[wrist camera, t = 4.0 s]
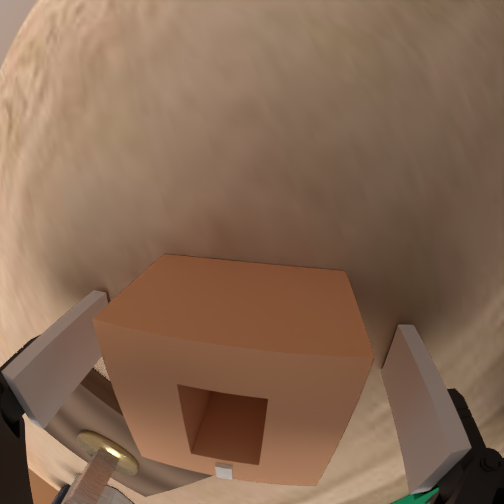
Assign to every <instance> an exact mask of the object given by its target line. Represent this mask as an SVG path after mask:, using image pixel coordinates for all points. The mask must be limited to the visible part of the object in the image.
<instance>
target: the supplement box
mask: <svg viewBox="0 0 504 504" xmlns="http://www.w3.org/2000/svg"><path fill="white" fill-rule="evenodd" d="M80 476H81V475H80V474H78V475H77V476H76V478H75V480H74V482H73V483H72V485H71V487H70V489H69V490H68V492H67V494H66V496H65V497H64V499H63V501H62V503H61V504H64V503H65V501H66V500H67V498H68V496H69V494H70V493H71V491H72V489H73V488H74V486H75V484H76V482H77V481H78V479H79V477H80ZM96 504H133V503H132V502H131V501H130V500H128V499H127V498H126V497H125V496H124V495H123V494H121V493H120V492H119V491H118V490H117V489H114V488H112V487H109V486H105V488H104V490H103V492H102V494H101V496H100V498H99V500H98V501H97V503H96Z"/></svg>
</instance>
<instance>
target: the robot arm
mask: <svg viewBox="0 0 504 504" xmlns="http://www.w3.org/2000/svg"><path fill="white" fill-rule="evenodd" d="M106 305H108V301H107V295H106V292H101V291H96V290H93V291H92V292H91V293H90V294H88V295H87V296H86V297H85V298H83V299H82V300H81V301H80V302H79V303H77V304H76V305H75V306H74V307H73V308H71V309H70V310H69V311H68V312H67V313H65V314H64V315H63V316H62V317H61V318H60V319H58V320H57V321H56V322H55V323H54V324H53V325H51V326H50V327H49V328H48V329H47V330H46V331H45V332H44V333H42V334H41V335H39V336H37V337H35V338H33V339H31V340H30V341H28V342H27V343H26V344H25V345H24V346H23V348H21V349H20V350H19V351H17V353H15V354H14V355H13V356H12V357H11V358H10V359H9V360H8V361H7V362H6V363H5V364H3V365H2V366H1V367H0V504H33V499H32V493H31V488H30V481H29V474H28V465H27V455H26V442H25V423H24V419H23V417H22V415H23V414H24V413H26V415H27V416H28V418H29V419H30V421H31V422H32V423H34V424H35V425H37V426H39V427H40V428H42V429H45V427H46V426H47V425H48V423H49V422H50V421H51V419H52V418H53V417H54V415H55V414H56V413H57V412H58V410H59V409H60V408H61V406H62V405H63V404H64V403H65V401H66V400H67V399H68V398H69V396H70V395H71V394H72V392H73V391H74V390H75V389H76V387H77V386H78V385H79V384H80V382H81V381H82V380H83V379H84V378H85V376H86V375H87V374H88V373H89V371H90V370H91V369H92V368H93V367H94V365H95V364H96V363H97V362H98V360H99V359H100V358H101V357H102V353H101V350H100V347H99V343H98V340H97V336H96V332H95V329H94V325H93V321H92V319H93V318H94V317H95V316H96V315H97V314H98V313H99V312H100V311H101V310H102V309H103V308H104V307H105V306H106ZM381 374H382V378H383V381H384V385H385V388H386V392H387V395H388V399H389V403H390V406H391V410H392V414H393V418H394V422H395V426H396V430H397V434H398V439H399V443H400V447H401V452H402V456H403V461H404V466H405V471H406V476H407V481H408V487H409V492H410V494H415V493H420V492H425V491H429V490H430V489H431V488H432V487H433V486H434V485H436V484H437V483H438V487H439V490H438V491H437V492H436V493H435V494H433V495H432V496H431V497H430V498H429V499H428V500H427V501H426V502H425V504H428V503H429V502H430V501H431V502H430V504H504V458H502V456H501V455H500V454H499V452H497V451H496V450H494V449H491V448H486V446H485V444H484V442H483V439H482V437H481V434H480V432H479V430H478V427H477V425H476V423H475V421H474V419H473V417H472V414H471V412H470V410H469V409H468V406H467V404H466V401H465V399H464V397H463V396H462V395H461V394H460V393H459V392H458V391H457V390H456V389H455V388H454V389H446V387H445V384H444V382H443V380H442V378H441V376H440V374H439V372H438V370H437V368H436V366H435V364H434V362H433V360H432V358H431V356H430V354H429V352H428V351H427V349H426V347H425V345H424V343H423V341H422V339H421V337H420V336H419V334H418V332H417V330H416V328H415V327H414V325H400V324H398V327H397V330H396V333H395V336H394V339H393V341H392V344H391V347H390V350H389V353H388V355H387V358H386V361H385V363H384V366H383V369H382V371H381Z"/></svg>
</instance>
